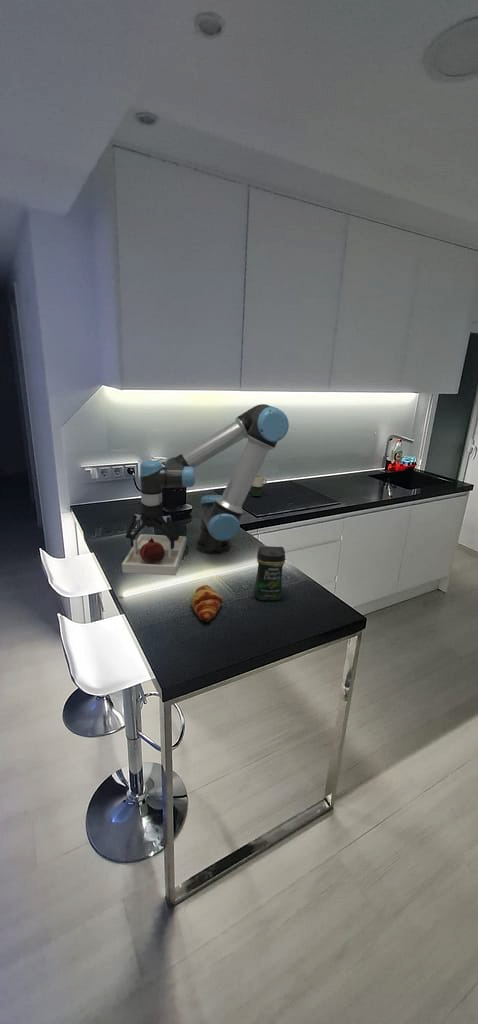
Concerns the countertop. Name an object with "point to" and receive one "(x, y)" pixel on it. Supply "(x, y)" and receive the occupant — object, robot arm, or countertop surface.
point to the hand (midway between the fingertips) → (152, 555)
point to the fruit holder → (163, 567)
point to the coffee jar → (269, 573)
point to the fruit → (152, 552)
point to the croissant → (206, 602)
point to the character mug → (258, 485)
